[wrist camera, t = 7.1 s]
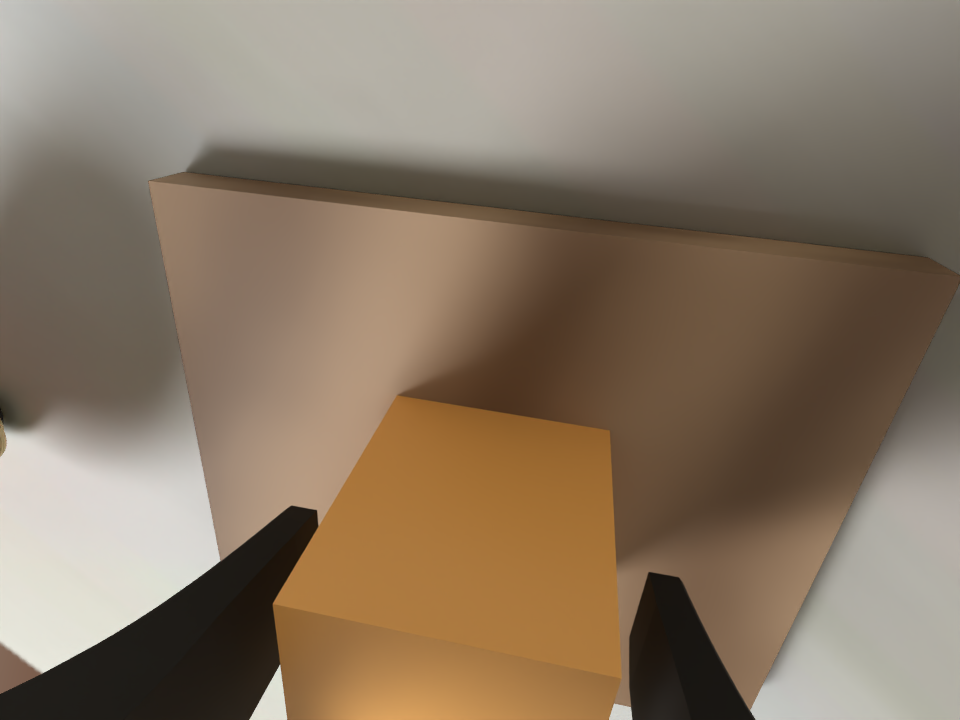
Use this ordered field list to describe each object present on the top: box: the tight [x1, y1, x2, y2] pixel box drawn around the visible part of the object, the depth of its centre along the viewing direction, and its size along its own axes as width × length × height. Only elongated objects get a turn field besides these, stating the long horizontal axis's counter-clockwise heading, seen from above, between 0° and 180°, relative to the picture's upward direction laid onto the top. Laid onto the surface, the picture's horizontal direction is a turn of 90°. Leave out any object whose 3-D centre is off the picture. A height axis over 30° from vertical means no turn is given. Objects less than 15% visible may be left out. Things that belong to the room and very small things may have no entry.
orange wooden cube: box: [273, 395, 622, 720], centre depth 12 cm, size 5×5×6 cm
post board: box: [148, 172, 960, 710], centre depth 13 cm, size 16×14×6 cm
